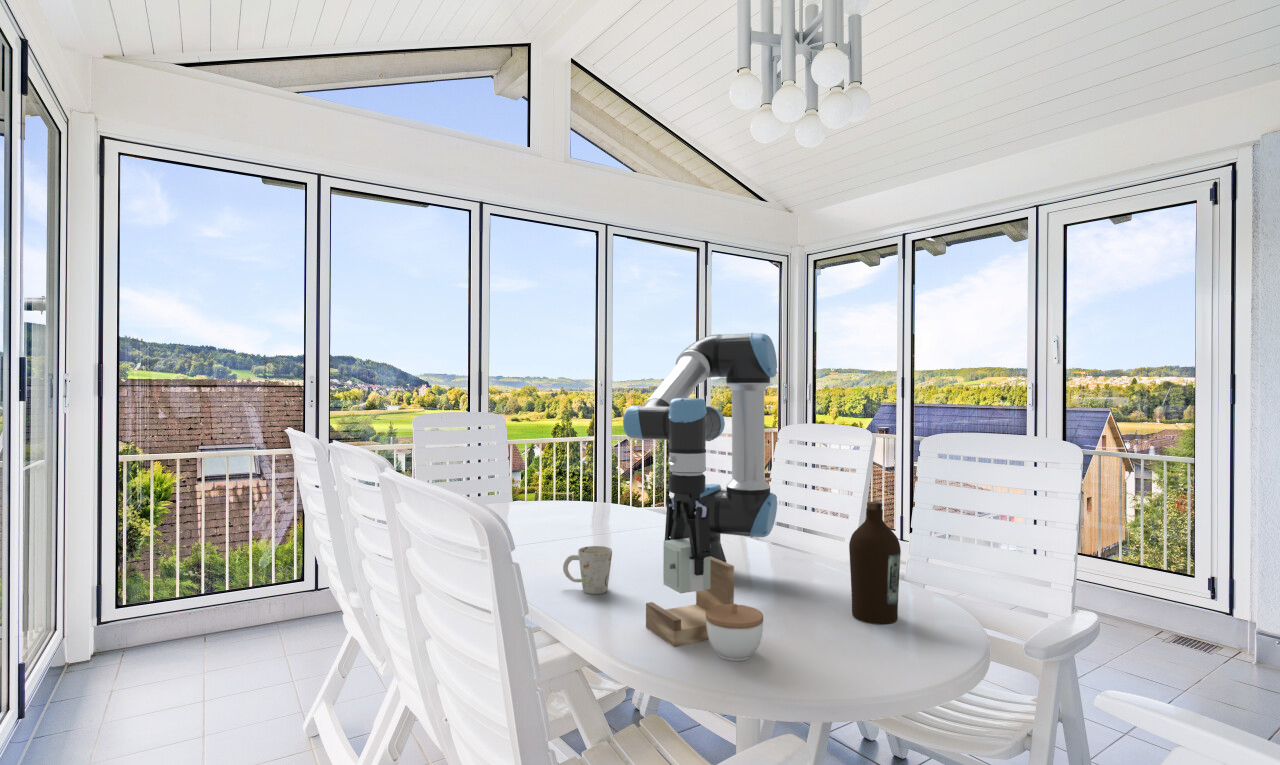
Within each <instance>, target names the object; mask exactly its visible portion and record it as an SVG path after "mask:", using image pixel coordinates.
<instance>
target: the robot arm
mask: <svg viewBox="0 0 1280 765" xmlns="http://www.w3.org/2000/svg"><path fill="white" fill-rule="evenodd" d="M777 369H778V359H777V353H776V349H775V345H774V342H773V340H772V338H771V337H770V336H769V335H768V334H767V333H758V332H757V333H755V332H750V333H749V332H747V333H731V334H729V333H727V334H726V333H725V334H721V333H719V334H718V333H717V334H711V335H708V336H705V337H703V338H700V339H698V340H695V342H693V343H692V344H690V345H688V346H687V347H686V348H685V349H684V350H682V351H681V353H680V354H679V355H678V356H677V358H676V360H675V366H674V367H673V368H672V370H671V371H670V372H669V373H668V374H667V376H666V377H665V378H664V380H662V382H660V384H659V385H658V387H657V388H656V389H655V390H654V391H653V393H652V394H651V395H650V396H649V397H648V399H647V400H646V401H645V403H643V405H640V404H637V405H631V406H628V407H626V409H625V411H624V413H623V417H622V418H623V419H622V426H623V431H624V433H625V435H626V436H627V437H629V438H630V439H636V440H637V439H639V440H642V441H643V440H657V441H658V440H659V441H660V440H663V441H665V440H666V441H669V442H668V447H669V448H668V452H669V453H668V455H669V456H668V459H667V461H668V462H669V463H668V470H669V472H671V473H670V474H669V475H668V491H669V492H670V493H672V494H673V497H666V498H665V503H666V504H665V506H666V513H665V516H666V517H665V529H664V530H665V533H664V541H666V540H675V539H684V538H689V540H690V546H691V551H692V556H691V557H689V558H690V591H691V592H690V593H693V592H696V591H701V590H703V573H704V570H703V569H704V568H703V567H704V558H705V557H710V556H711V557H714V558H716V559H719V560H721V561H723V562H726V563H728V562H727V558H726V555H725V552H724V549H723V545H722V543H721V541H722V540H721V535H733V536H740V537H749V538H765V537H768V536H769V535H770V534H771V532H772V531H773V528H774V525H775V521H776V517H777V511H778V497H777V495H776V494H774V493H773V492H771V485H770V484H769V482H767V480H766V479H765V390H766V389H767V387H769V386H770V385H771V378H774V377H776V376H777V371H778V370H777ZM709 378H726V379H725V383H726V386H727V387H729V388H730V390H731V459H732V460H731V480H730V481H728V483H727V484H726V488H725V489H726V490H722V486H721V484H718V483H717V484H716V483H707V484H706V475H705V474H704V473H705V472H706V471H707V470H706V469H707V467H706V466H707V459H706V458H707V457H706V456H707V455H706V454H707V453H706V452H707V451H706V442H711V441H714V440H715V439H717V438H719V437H720V436H721V435H722V433H724V429H725V425H726V422H725V418H724V415H723V414H722V412H721V411H720V410H719V409H717V408H715V407H712V406H709V405H708V406H707V403H706V401H705V399H704V398H695V397H694V398H693V397H692V398H691V397H690V396H691V395H692V393H693V391H694V390H695V389H696V387H698V385H699V384H701V383H703V382H705V381H706V380H707V379H709ZM710 544H711V549H710Z"/></svg>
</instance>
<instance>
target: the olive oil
mask: <svg viewBox="0 0 1280 765" xmlns="http://www.w3.org/2000/svg"><path fill="white" fill-rule="evenodd" d="M866 506H867V507H866V512H865V514H866V519H865V521H863V523H861V525H860V526H858V528H857V529H856V530H854V531H853V532H852V534H851V536H850V539H849V543H848V544H849V546H848V549H849V551H848V552H849V567H850V571H849V572H850V590H851V591H850V592H851V615H852V617H854V619H856V620H857V621H861V622H863V623H866V624H875V625H891V624H894V623H896V622H897V621H898V618H899V617H898V615H899V612H898V611H899V610H898V609H899V592H900V591H899V590H900V589H899V588H900V572H901V571H900V570H901V568H900V566H901V554H902V552H901V545H900V541H899V539H898V536H897V535H896V534H895V533H894V531H893V530H892V529H891V528H890V527H889V526H888V525H887V524H886V522H884V520H883V519H884V518H883V516H884V514H883V513H884V511H883V510H884V509H883V503H882V502H878V501H868V502H866Z"/></svg>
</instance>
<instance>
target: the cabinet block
mask: <svg viewBox="0 0 1280 765" xmlns="http://www.w3.org/2000/svg"><path fill="white" fill-rule="evenodd" d="M710 549H711V544H710ZM691 556H692V551H691V546H690V540H689V538H684V539H675V540H666V541H665V540H663V564H662V565H663V567H662V568H663V570H662V571H663V576H662V577H663V580H662V581H663V585H664V586H666V587H667V588H670V589H671V590H673V591H675V592H677V593H679V594H686V593H687V594H688V593H692V592H691V591H690V558H689V557H691ZM703 568H704V569H703V570H704V573H703V590H707V589H710V576H711V556H710V557H705V558H704V567H703Z"/></svg>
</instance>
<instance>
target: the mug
mask: <svg viewBox="0 0 1280 765" xmlns="http://www.w3.org/2000/svg"><path fill="white" fill-rule="evenodd" d="M577 553H578V554H572V555H569V556H567V557H566V559H565V560H564V562H563V565H562V570H563V573H564V575H565V577H566V578H567V579H568V580H569V581H571V582H573V583H581V585H582V586H581V588H582V591H583V592H584V593H585V594H589V595H590V594H591V595H601V594H603V593H607V592H608V587H609V582H610V580H609V579H610V572H611V564H612V558H613V557H612V556H613V549H612V548H611V547H608V546H603V545H592V546H591V545H590V546H583V547H581V548H579V549H578V552H577ZM572 561H579V569H580V578H575V577H574V576H572V575H571V573H570V571H569V564H570V563H572Z"/></svg>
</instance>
